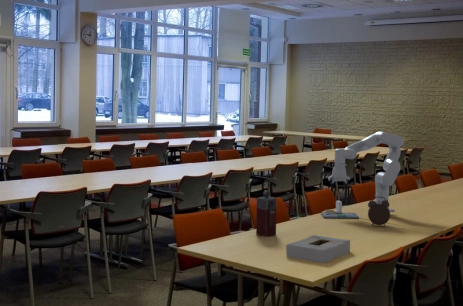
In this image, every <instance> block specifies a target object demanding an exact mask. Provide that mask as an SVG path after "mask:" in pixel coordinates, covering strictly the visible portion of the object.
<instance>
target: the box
mask: <svg viewBox="0 0 463 306" xmlns="http://www.w3.org/2000/svg"><path fill="white" fill-rule="evenodd" d="M285 249H286V257H288V258H291V259H292V258H293V259H296V260H297V259H299V260H304V261H310V262H316V263H321V264H325V263H327V262H328V263H329V262H330V261H333V260H334V259H337V258H339V257H341V256H343V255H346V254H348V253H350V252H351V239H350V240H349V239H342V238H338V237H337V238H335V237H329V236H321V235H316V234H315V235H314V234H312V235H310V236H309V237H308V236H307V237H306V238H301V239H300V240H297V241H293V242H290V243H287V244H286V246H285Z"/></svg>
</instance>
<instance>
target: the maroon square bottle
mask: <svg viewBox="0 0 463 306" xmlns="http://www.w3.org/2000/svg"><path fill="white" fill-rule="evenodd" d="M262 194H263V195H262V196H260V197H257V198H256V218H255V219H256V220H255V222H256V225H255V226H256V227H255V228H256V229H255V235H256V236H260V237H265V238H269V237H273V236H277V205H278V204H277V203H278V202H277V201H278V199H277V197H273V196H271V191H270V190H267V189H265V190H264V191H263V193H262Z"/></svg>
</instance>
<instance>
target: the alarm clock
mask: <svg viewBox="0 0 463 306" xmlns="http://www.w3.org/2000/svg"><path fill="white" fill-rule="evenodd" d="M375 198H384V197H375V196H374V197H373V198H372V200H371V199H369V202H367V206H368V211H367V217H368V219H369V221H370V222H371V226H375V225H376V226H383V225H384V227H386V224H388V222H389V221H390V218H391V212H389V209H390V202H389V200H387V201H386V199H385V198H384V199H385V200H383V201H382V202H381V204H379V203H378V204H377V203H376V202H375ZM378 202H380V201H378ZM387 207H388V208H389V209H388V208H387Z"/></svg>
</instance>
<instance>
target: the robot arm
mask: <svg viewBox="0 0 463 306" xmlns="http://www.w3.org/2000/svg"><path fill="white" fill-rule="evenodd" d="M404 143H405V140H404V138H403V137H402V136H400V135H397V134H393V133H390V132H386V131H383V130H382V131H377V132H374V133H373V134H370V135H369V136H367V137H365V138H364V139H362V140H359V141H357V142H353V143H352V144H350V145H347V146H346V147H345V148H336V149H335V150H334V167H332V171H331V175H330V176H328V177H327V179H328V181H329V183H330V188H331V189H332V190H334V189H335V182H343V189H344V190H346V189H347V186H348V184H349V182H350V180H351V177H350V176H349V175H347V168H346V167H347V163H346V160H347V159H348V160H354V159H356V157H357V155H358V153H360V152H363V151H364V152H365V151H369V150H371V149H373V148H375V147H376V146H379V145H380V144H384V145H388V153H387V155H386V157H385V159H384V161H383V163H382V168H383V170H384V171H380V172H377V173H376V174H375V177H374V185H375V195H374V197H384V198H385V199H386V201H387V200H388V201H389V197H390V191H389V190H390V187H391V186H392V185H393V184H394V183H395V181H396V180H397V177H398V175H399V173H400V171H401V163H400V161H399V158H400V156H401V153H402V152H401V151H402V149H401V147H402V146H403V145H404ZM384 198H374V201H375V202H376V203H377V204H378V203H379V204H381V202H382V201H383V200H385V199H384ZM378 201H380V202H378ZM387 208H388V207H387ZM388 209H389V212H390V213H395V211H396V210H395V209H390V207H389V208H388Z"/></svg>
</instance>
